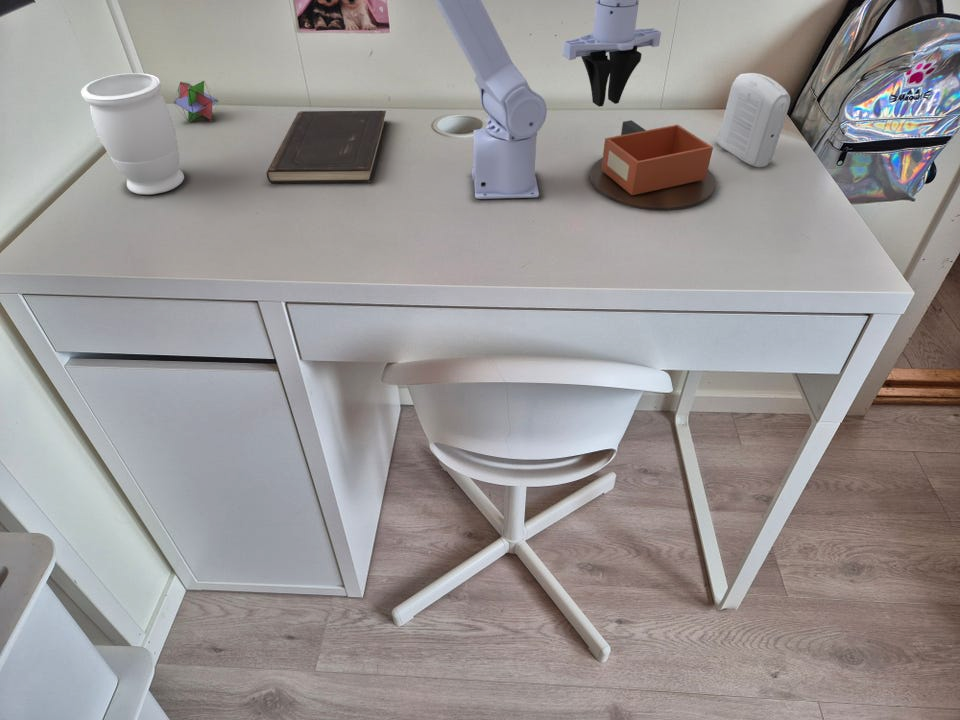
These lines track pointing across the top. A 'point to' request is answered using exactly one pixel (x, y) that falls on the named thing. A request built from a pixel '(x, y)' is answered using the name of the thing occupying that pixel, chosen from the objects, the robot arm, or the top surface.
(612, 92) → the robot arm
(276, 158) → the hardcover book
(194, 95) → the geometric puzzle
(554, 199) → the top surface
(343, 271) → the top surface
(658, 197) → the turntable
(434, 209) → the top surface
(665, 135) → the bin
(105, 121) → the jar
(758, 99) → the photo printer
